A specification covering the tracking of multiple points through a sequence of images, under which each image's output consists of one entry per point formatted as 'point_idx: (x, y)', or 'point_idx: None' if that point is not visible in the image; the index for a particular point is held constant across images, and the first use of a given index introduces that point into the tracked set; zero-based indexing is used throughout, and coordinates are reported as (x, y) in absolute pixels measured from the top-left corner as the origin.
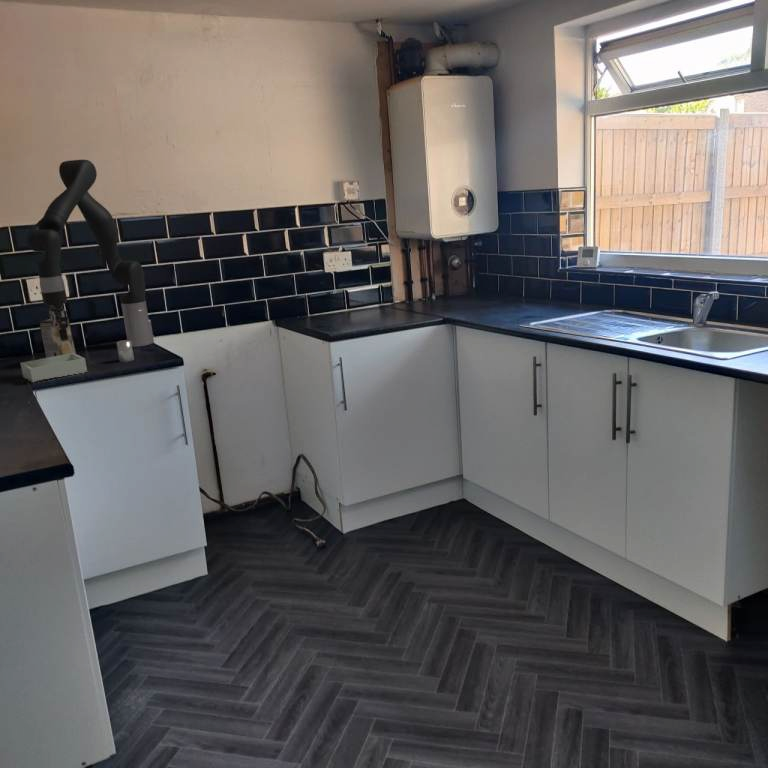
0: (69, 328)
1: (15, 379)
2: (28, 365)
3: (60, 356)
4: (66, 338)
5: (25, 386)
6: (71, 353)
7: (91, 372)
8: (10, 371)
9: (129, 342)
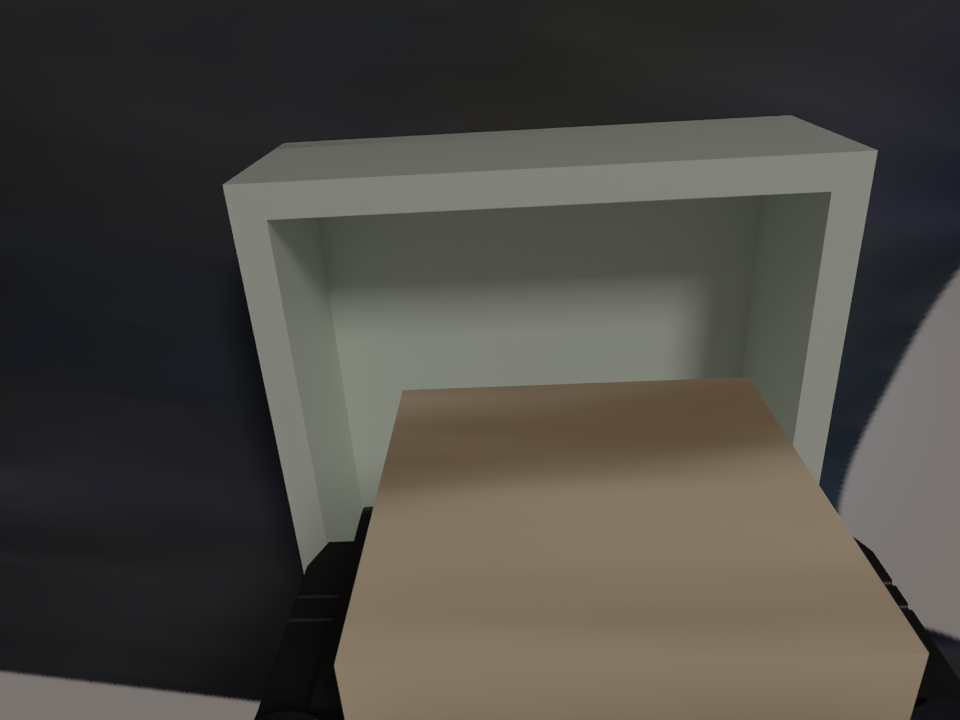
0: (885, 604)
1: None
2: None
3: (298, 371)
4: None
5: None
6: (248, 216)
7: (843, 72)
8: (16, 650)
9: None
